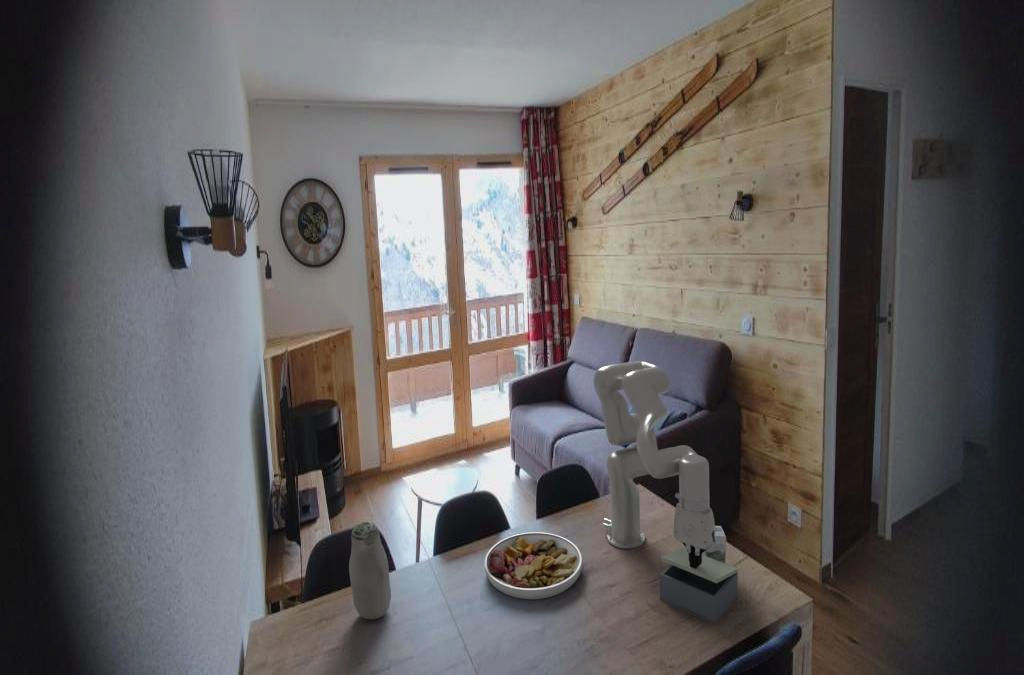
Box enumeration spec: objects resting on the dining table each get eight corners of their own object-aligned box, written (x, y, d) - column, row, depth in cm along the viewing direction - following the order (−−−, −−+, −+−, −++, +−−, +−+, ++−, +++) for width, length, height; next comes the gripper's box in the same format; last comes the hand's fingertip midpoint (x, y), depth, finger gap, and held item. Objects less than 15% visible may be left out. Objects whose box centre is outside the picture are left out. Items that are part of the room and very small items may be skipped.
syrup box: (720, 568, 167) (720, 524, 164) (725, 580, 161) (726, 535, 158) (700, 568, 167) (700, 524, 165) (705, 580, 162) (705, 535, 159)
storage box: (659, 599, 155) (659, 574, 153) (683, 575, 164) (683, 551, 163) (715, 625, 144) (715, 598, 142) (737, 598, 153) (737, 572, 152)
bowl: (559, 537, 189) (558, 516, 188) (599, 589, 161) (599, 565, 160) (474, 558, 180) (472, 536, 179) (502, 617, 152) (500, 591, 151)
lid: (660, 560, 153) (661, 556, 153) (683, 551, 163) (684, 547, 163) (716, 583, 142) (717, 579, 142) (737, 572, 152) (738, 568, 152)
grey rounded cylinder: (349, 623, 153) (336, 531, 148) (371, 599, 162) (360, 512, 157) (378, 630, 149) (367, 537, 144) (399, 606, 159) (389, 517, 153)
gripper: (661, 499, 148) (663, 562, 151) (715, 516, 138) (716, 582, 141) (675, 489, 153) (676, 550, 156) (728, 504, 143) (728, 569, 146)
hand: (695, 565), depth 149 cm, fingers closed
